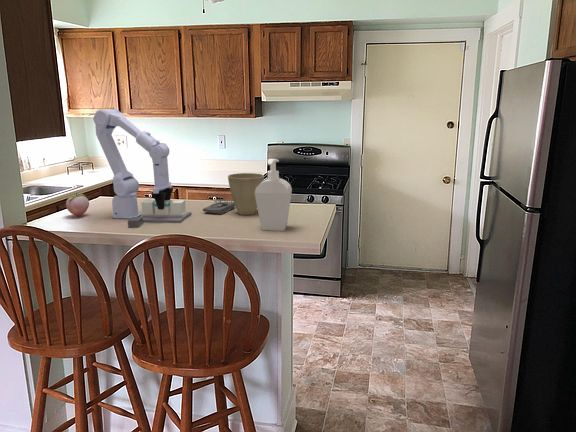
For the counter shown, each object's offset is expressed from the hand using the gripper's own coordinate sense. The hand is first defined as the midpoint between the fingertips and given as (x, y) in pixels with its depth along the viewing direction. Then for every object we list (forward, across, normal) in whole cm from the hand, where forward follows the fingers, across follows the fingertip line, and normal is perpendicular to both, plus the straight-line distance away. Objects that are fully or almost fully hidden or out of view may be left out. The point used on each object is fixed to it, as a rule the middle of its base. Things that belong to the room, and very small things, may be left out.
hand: (163, 207), depth 194 cm
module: (+2, 0, 0) cm, 2 cm away
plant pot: (+5, +11, -32) cm, 34 cm away
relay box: (+5, -12, +7) cm, 15 cm away
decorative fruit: (+5, +1, +38) cm, 38 cm away
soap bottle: (+5, -13, -47) cm, 49 cm away
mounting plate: (+4, 0, 0) cm, 4 cm away
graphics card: (+5, +16, -18) cm, 25 cm away
